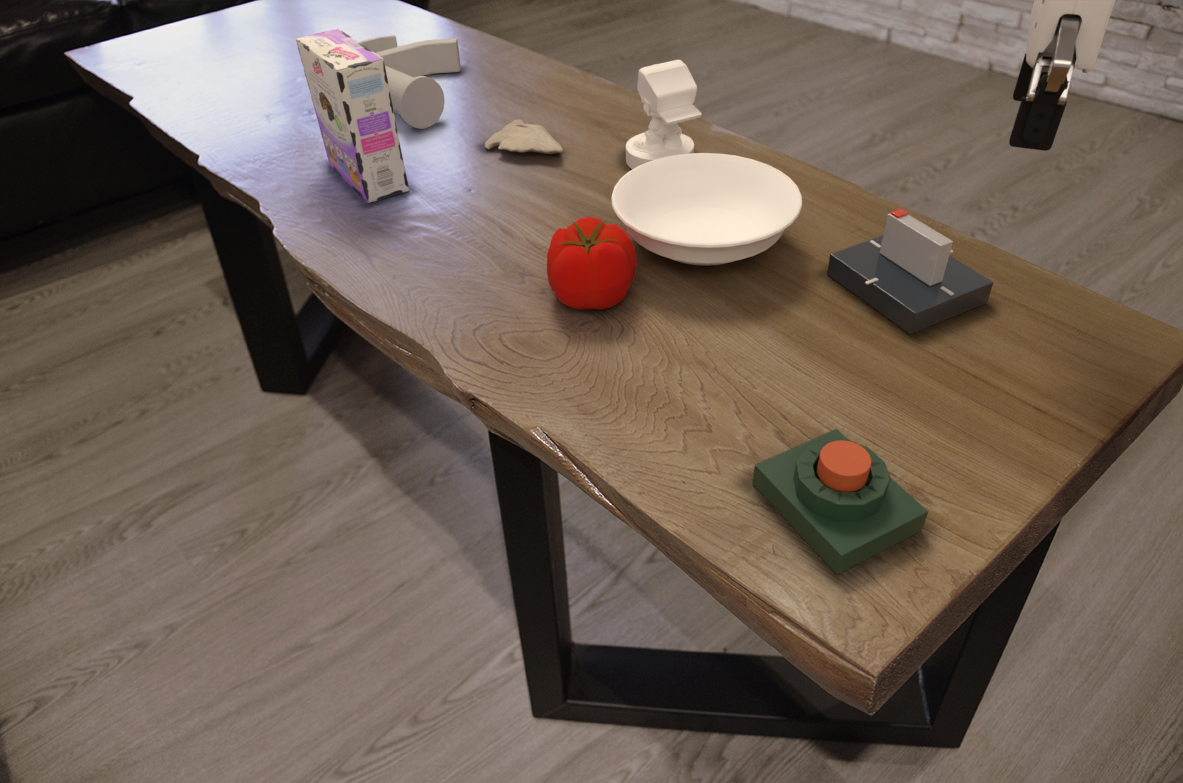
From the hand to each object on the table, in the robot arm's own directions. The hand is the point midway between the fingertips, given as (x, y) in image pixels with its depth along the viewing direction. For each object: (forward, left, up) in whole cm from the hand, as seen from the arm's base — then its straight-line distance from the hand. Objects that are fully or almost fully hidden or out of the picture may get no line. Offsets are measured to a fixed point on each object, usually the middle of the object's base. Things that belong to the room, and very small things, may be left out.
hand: (1030, 123), depth 73 cm
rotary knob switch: (+4, +6, -18) cm, 19 cm away
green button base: (-15, +31, -18) cm, 38 cm away
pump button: (-15, +31, -14) cm, 37 cm away
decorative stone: (+53, +25, -18) cm, 61 cm away
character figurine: (+41, +12, -18) cm, 46 cm away
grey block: (+4, +6, -15) cm, 17 cm away
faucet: (+81, +31, -18) cm, 88 cm away
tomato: (+19, +34, -18) cm, 43 cm away
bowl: (+21, +19, -18) cm, 33 cm away
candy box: (+57, +46, -18) cm, 75 cm away
